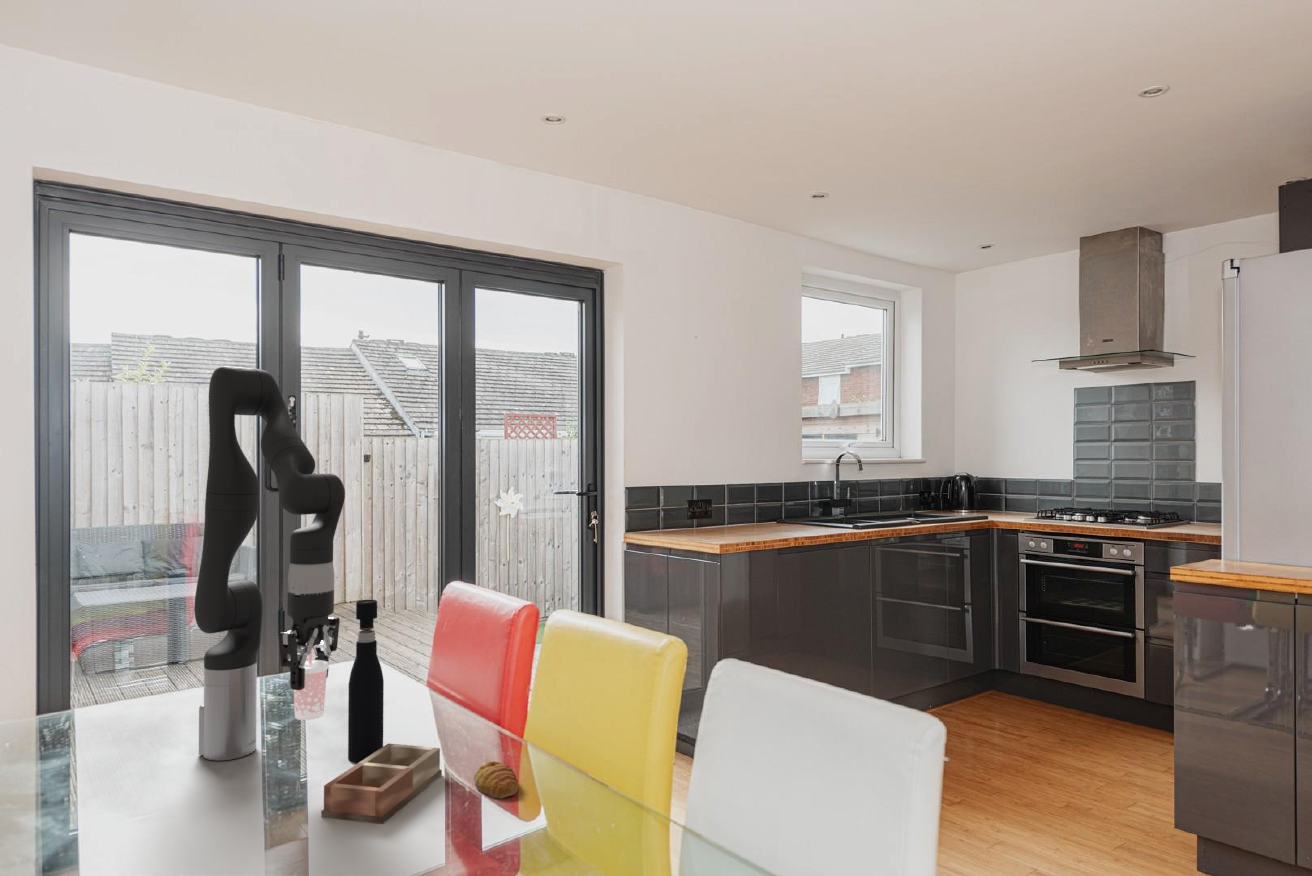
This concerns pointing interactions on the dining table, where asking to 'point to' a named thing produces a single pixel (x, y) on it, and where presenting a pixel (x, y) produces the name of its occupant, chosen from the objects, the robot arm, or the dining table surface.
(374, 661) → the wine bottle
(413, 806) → the dining table surface
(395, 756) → the cup holder
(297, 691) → the beverage cup
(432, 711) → the dining table surface
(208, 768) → the dining table surface
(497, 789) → the pastry
